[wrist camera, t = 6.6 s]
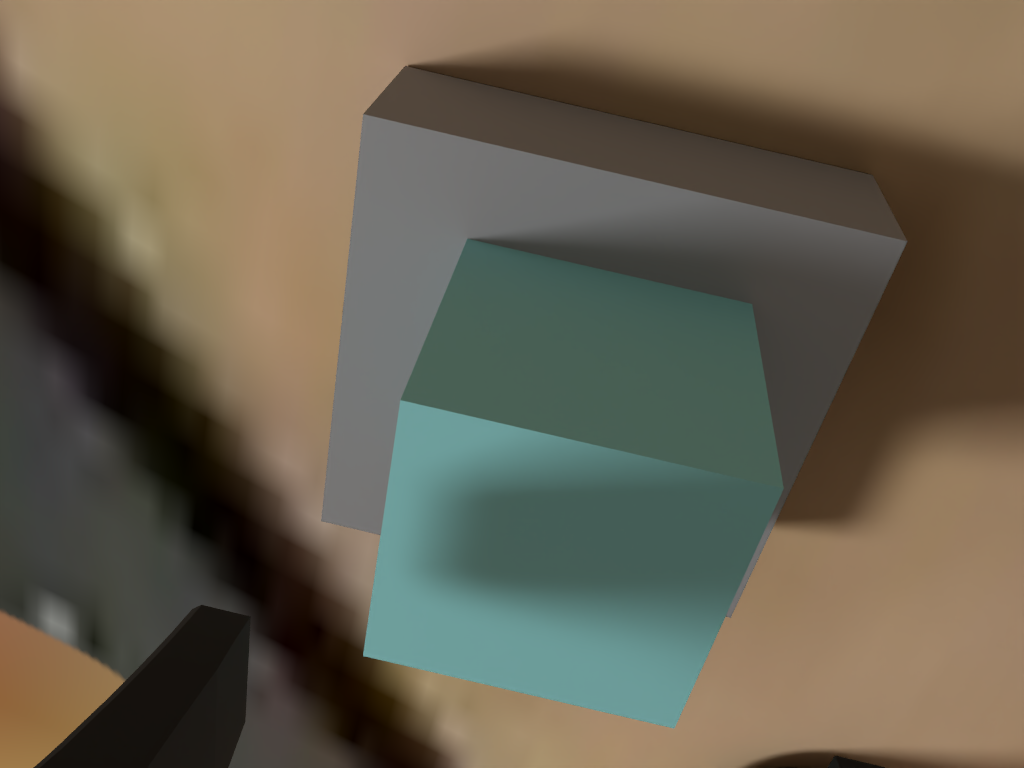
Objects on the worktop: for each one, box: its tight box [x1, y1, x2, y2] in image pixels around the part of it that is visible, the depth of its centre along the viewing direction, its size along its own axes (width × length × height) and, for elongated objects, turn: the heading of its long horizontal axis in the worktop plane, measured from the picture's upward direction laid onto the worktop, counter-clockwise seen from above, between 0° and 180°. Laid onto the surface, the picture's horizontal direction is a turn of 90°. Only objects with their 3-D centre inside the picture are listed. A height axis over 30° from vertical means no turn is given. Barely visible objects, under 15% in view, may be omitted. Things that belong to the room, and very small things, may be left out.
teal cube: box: [363, 239, 784, 728], centre depth 15 cm, size 5×5×5 cm
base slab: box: [321, 66, 907, 618], centre depth 19 cm, size 9×9×3 cm
